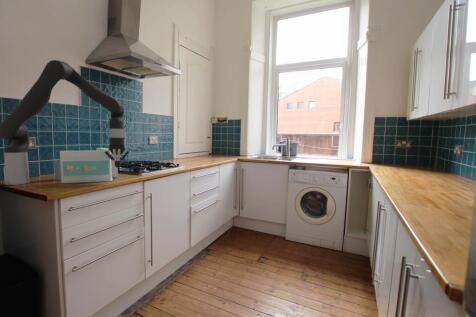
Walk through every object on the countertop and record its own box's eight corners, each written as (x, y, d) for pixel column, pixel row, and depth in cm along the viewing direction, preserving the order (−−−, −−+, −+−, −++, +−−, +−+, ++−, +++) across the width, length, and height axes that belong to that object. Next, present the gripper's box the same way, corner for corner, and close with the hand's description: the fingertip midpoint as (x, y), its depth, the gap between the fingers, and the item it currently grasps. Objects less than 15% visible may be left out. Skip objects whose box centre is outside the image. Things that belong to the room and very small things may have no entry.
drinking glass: (75, 177, 153) (74, 158, 152) (74, 179, 145) (73, 160, 144) (55, 178, 148) (54, 159, 147) (53, 181, 140) (52, 160, 138)
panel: (63, 176, 129) (62, 161, 128) (64, 175, 130) (63, 161, 129) (109, 174, 135) (108, 160, 135) (109, 174, 137) (109, 160, 136)
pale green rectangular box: (55, 185, 127) (53, 152, 125) (64, 181, 139) (62, 150, 137) (108, 183, 135) (106, 151, 133) (112, 179, 147) (111, 150, 145)
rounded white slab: (121, 177, 155) (120, 149, 153) (108, 179, 149) (107, 150, 148) (108, 172, 175) (107, 147, 173) (96, 173, 170) (95, 147, 168)
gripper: (102, 136, 130) (103, 168, 132) (128, 137, 134) (129, 167, 136) (105, 136, 137) (106, 166, 139) (130, 137, 141) (131, 166, 143)
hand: (117, 167), depth 137 cm, fingers closed
